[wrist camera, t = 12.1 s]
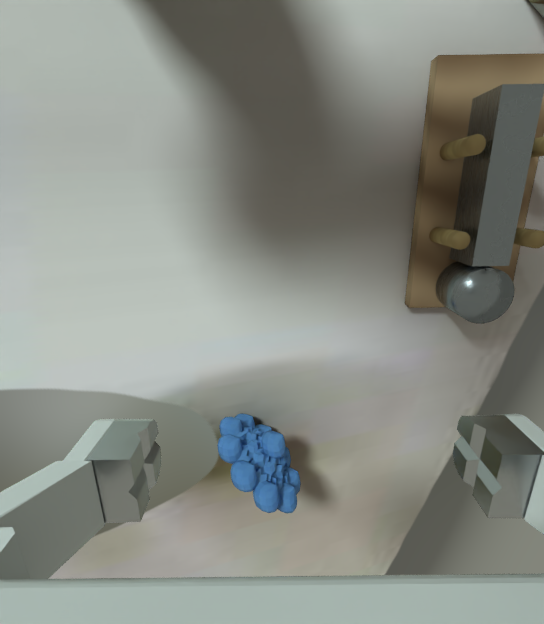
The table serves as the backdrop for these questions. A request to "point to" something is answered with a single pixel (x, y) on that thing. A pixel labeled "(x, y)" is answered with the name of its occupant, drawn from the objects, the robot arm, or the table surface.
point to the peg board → (461, 163)
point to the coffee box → (538, 6)
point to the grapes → (259, 463)
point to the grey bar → (491, 202)
